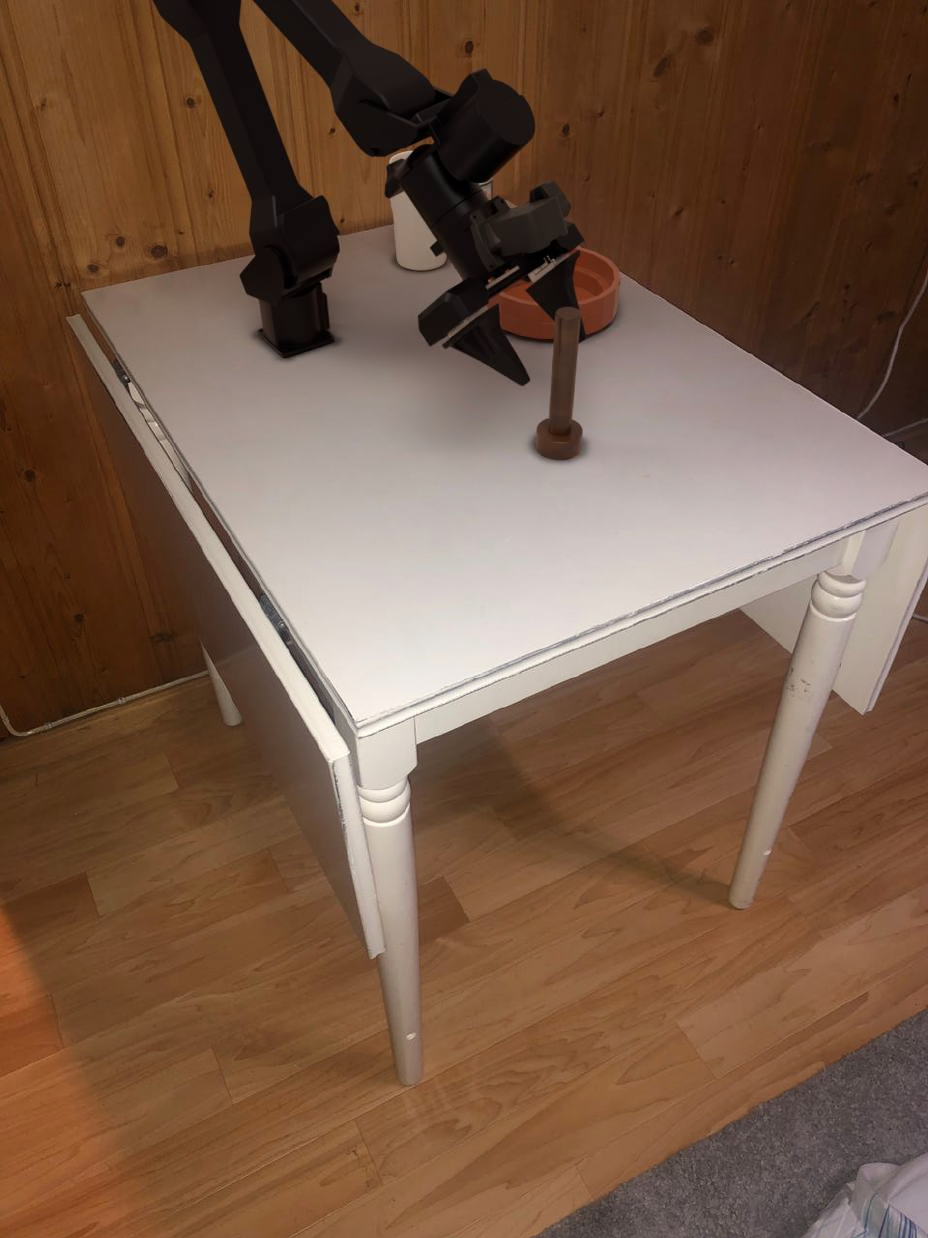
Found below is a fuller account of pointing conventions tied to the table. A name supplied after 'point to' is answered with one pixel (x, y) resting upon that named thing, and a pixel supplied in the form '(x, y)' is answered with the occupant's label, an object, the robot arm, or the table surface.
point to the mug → (412, 233)
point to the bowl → (593, 293)
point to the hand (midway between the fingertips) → (555, 361)
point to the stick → (562, 391)
